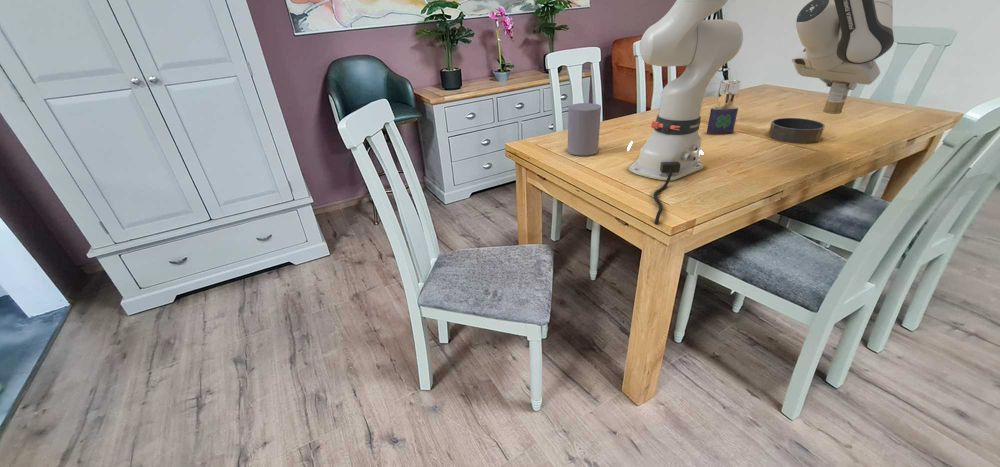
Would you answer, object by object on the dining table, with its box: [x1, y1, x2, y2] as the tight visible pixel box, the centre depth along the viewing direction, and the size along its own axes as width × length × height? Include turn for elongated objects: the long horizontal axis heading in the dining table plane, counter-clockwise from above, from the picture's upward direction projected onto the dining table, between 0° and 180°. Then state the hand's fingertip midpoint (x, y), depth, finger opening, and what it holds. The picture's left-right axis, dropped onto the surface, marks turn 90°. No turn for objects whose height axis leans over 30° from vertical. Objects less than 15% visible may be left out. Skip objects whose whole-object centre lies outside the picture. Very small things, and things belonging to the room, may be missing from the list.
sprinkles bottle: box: [822, 80, 850, 115], centre depth 119 cm, size 5×5×14 cm
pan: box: [768, 117, 826, 144], centre depth 141 cm, size 15×15×4 cm
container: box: [566, 102, 602, 157], centre depth 137 cm, size 10×10×15 cm
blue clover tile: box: [706, 103, 739, 135], centre depth 147 cm, size 9×3×11 cm, turn 88°
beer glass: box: [716, 79, 742, 108], centre depth 159 cm, size 7×7×15 cm
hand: (841, 86), depth 119 cm, fingers closed on sprinkles bottle, 4 cm apart
